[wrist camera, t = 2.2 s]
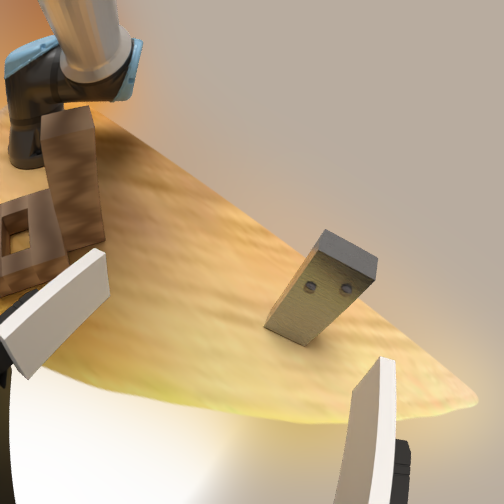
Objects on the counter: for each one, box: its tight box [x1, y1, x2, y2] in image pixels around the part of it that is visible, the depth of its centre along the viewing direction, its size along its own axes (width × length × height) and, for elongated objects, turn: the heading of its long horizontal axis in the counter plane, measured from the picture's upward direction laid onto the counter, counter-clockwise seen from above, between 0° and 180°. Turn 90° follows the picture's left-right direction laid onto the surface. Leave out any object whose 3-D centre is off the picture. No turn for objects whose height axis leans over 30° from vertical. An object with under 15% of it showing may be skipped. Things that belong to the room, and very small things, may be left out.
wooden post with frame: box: [0, 105, 105, 297], centre depth 29 cm, size 18×14×18 cm
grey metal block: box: [264, 229, 378, 346], centre depth 33 cm, size 4×6×16 cm, turn 67°
